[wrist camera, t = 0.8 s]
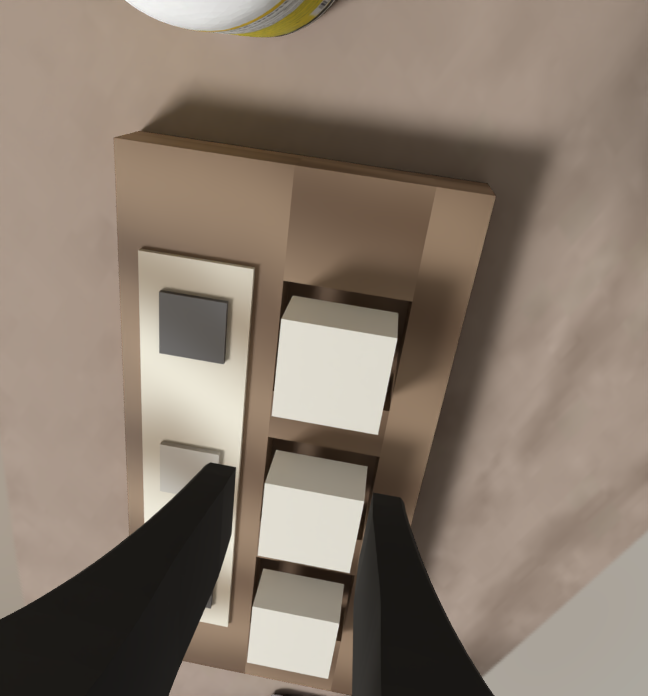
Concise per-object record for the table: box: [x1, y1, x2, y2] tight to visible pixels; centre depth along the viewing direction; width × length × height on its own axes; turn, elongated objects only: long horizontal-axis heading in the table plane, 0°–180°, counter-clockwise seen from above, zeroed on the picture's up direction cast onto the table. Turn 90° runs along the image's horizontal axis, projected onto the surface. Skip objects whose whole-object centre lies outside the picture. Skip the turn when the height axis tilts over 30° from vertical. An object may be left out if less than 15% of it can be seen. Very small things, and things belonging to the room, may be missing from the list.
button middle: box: [258, 450, 368, 573], centre depth 22 cm, size 4×4×2 cm
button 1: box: [247, 568, 344, 679], centre depth 25 cm, size 4×4×2 cm
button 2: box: [272, 296, 398, 435], centre depth 19 cm, size 4×4×2 cm
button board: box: [114, 131, 496, 696], centre depth 24 cm, size 25×12×2 cm, turn 173°
